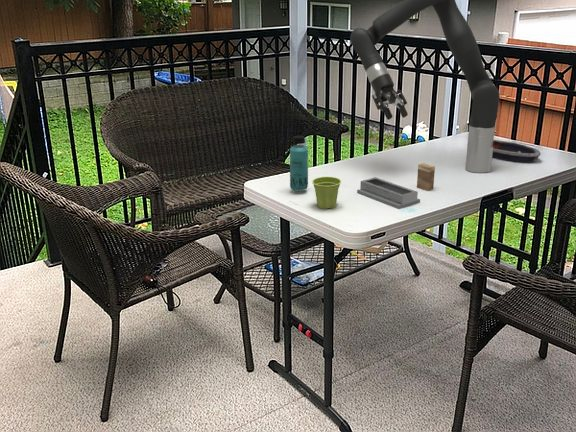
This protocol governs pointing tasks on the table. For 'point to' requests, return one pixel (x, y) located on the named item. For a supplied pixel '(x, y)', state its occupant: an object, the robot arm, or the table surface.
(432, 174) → the brown rectangular block
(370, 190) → the grey rectangular tray
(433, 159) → the table surface
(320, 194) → the plant pot
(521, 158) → the dish
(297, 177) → the beverage bottle
